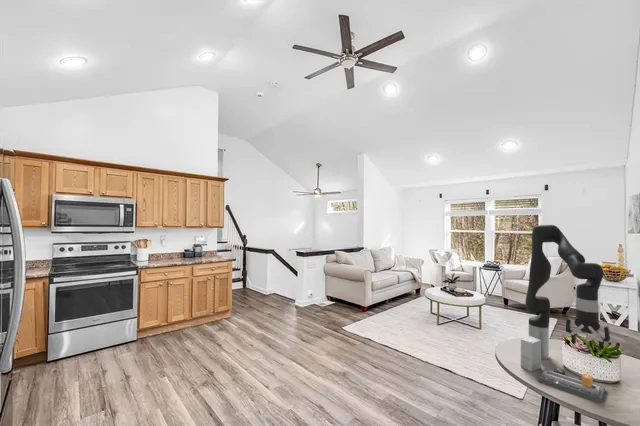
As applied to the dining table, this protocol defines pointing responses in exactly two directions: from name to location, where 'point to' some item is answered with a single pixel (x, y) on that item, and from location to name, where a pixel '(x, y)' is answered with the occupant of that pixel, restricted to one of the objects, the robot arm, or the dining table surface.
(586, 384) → the fader knob
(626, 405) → the dining table surface
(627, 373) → the dining table surface
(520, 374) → the dining table surface
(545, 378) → the console
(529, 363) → the skincare box
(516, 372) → the dining table surface
